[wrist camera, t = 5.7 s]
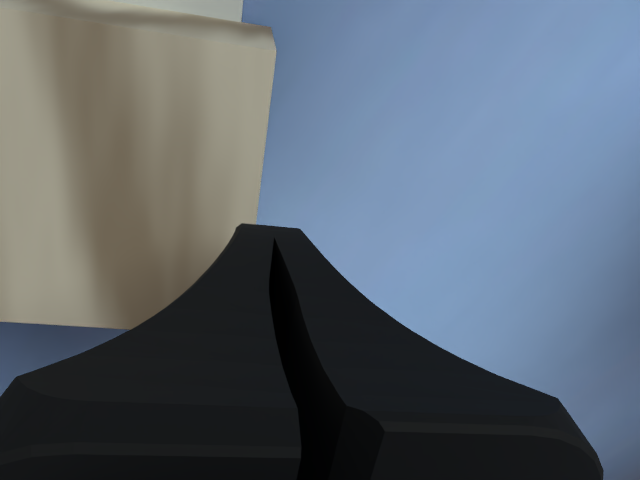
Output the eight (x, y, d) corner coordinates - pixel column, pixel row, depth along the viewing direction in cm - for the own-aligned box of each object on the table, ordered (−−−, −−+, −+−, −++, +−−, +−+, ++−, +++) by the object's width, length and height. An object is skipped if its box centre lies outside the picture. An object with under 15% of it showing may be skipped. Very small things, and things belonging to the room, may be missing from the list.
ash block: (276, 51, 11) (-250, -32, 10) (242, 336, 15) (-147, 312, 13) (270, 26, 16) (-93, -33, 14) (245, 252, 19) (-47, 226, 18)
